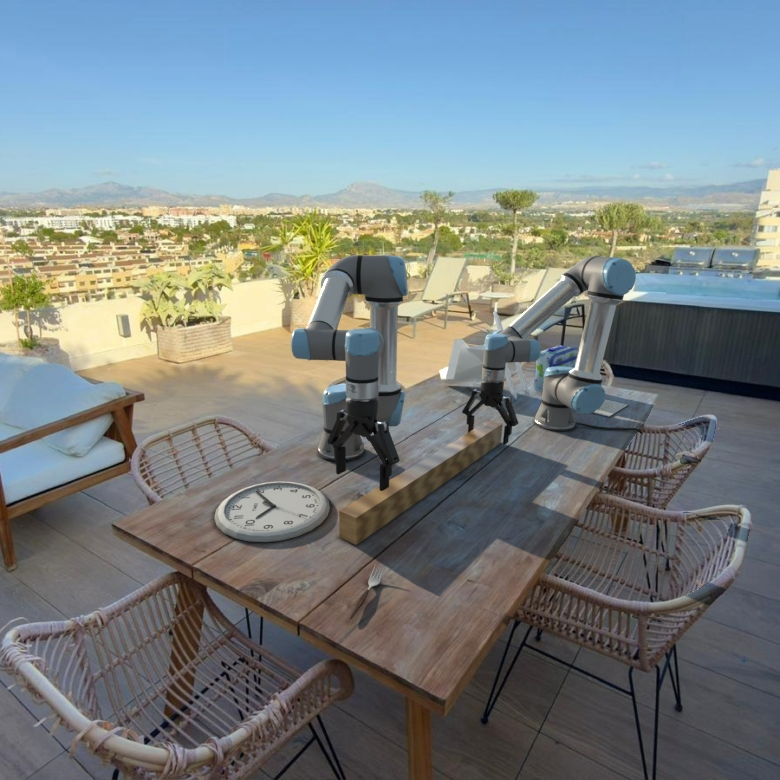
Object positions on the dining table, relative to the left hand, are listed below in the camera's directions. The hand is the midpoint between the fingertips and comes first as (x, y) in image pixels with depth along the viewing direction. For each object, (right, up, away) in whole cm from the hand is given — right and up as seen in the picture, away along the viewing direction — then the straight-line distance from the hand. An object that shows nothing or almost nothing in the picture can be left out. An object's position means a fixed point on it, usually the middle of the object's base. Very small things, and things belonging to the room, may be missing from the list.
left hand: (362, 480), depth 127 cm
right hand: (+41, +5, +56) cm, 70 cm away
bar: (+20, -6, +31) cm, 37 cm away
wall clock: (-24, -10, +13) cm, 30 cm away
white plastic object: (+48, +21, +117) cm, 128 cm away
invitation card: (+98, +15, +100) cm, 141 cm away
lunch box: (+85, +22, +121) cm, 150 cm away
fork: (+2, -21, -19) cm, 28 cm away
